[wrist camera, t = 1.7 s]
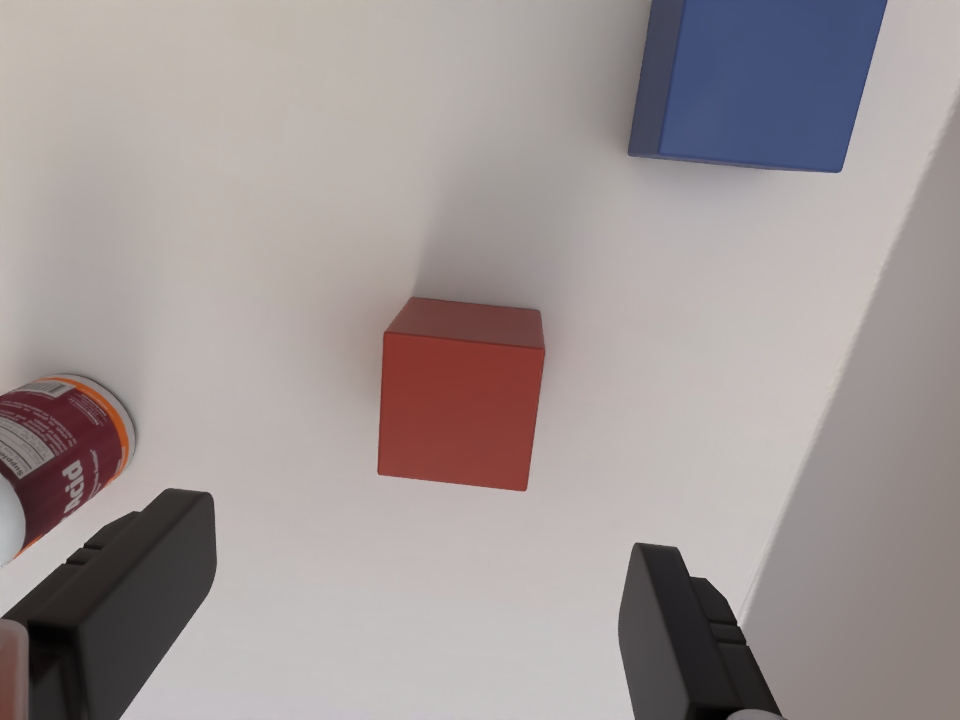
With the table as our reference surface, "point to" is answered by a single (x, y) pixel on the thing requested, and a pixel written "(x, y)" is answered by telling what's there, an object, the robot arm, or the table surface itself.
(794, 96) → the blue block
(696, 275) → the table surface
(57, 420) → the pill bottle
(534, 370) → the red block
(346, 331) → the table surface
